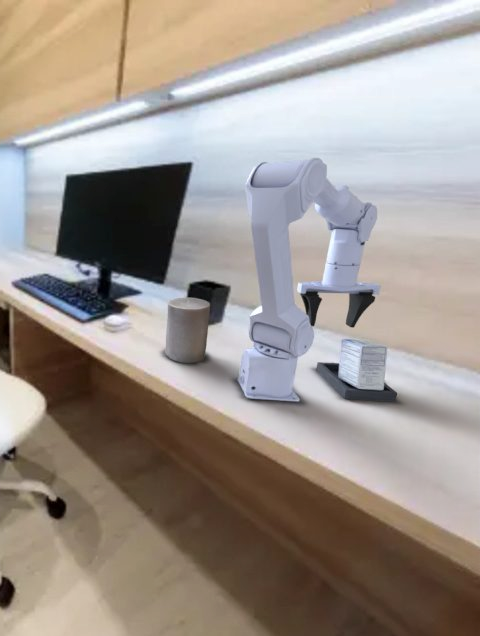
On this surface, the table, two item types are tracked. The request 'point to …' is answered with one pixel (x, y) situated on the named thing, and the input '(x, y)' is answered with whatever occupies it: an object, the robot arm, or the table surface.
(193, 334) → the pillar candle
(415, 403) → the table surface
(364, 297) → the robot arm
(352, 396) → the pad
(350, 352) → the medicine box
